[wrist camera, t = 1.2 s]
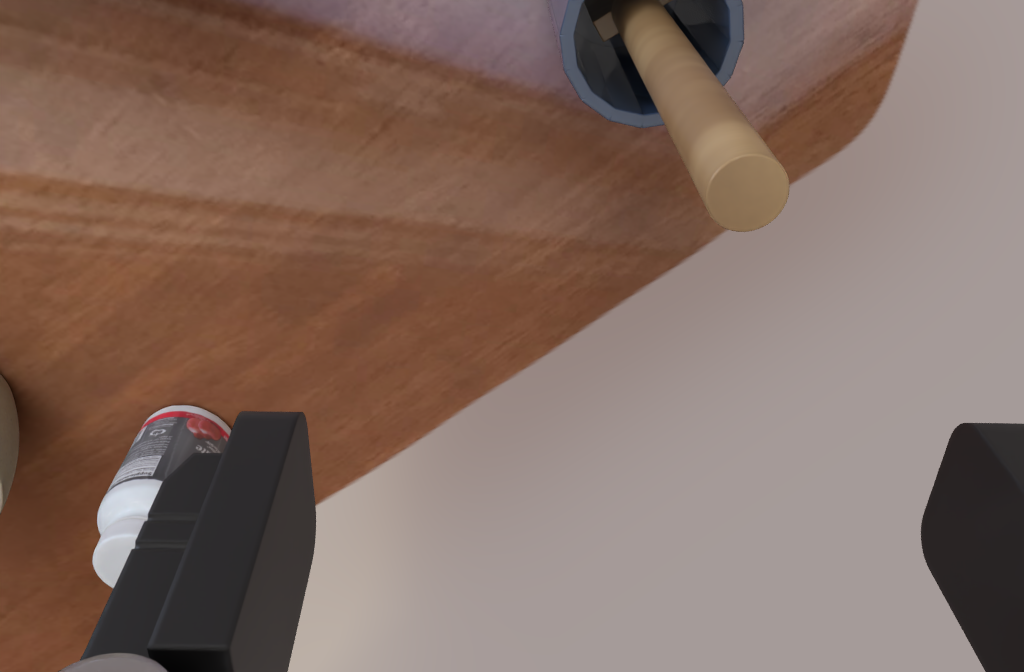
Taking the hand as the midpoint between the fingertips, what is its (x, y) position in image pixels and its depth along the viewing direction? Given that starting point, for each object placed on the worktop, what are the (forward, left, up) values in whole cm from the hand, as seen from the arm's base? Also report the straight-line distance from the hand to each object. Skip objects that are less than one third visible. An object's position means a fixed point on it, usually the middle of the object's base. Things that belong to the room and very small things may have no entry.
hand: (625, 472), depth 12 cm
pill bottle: (+29, +11, -33) cm, 45 cm away
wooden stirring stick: (-3, +2, -32) cm, 33 cm away
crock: (-3, +2, -33) cm, 33 cm away
